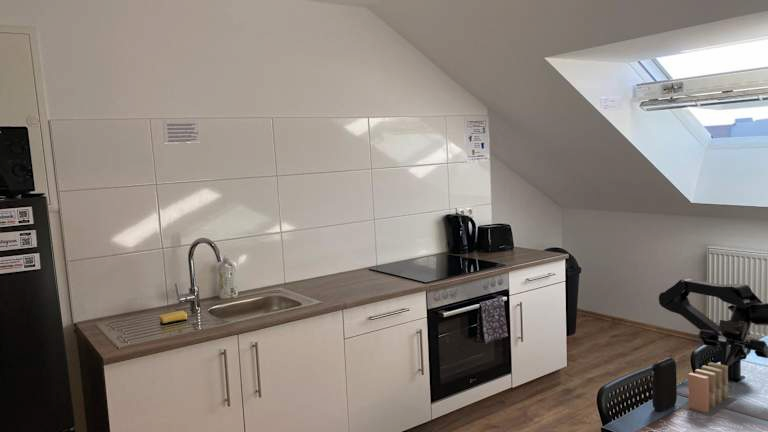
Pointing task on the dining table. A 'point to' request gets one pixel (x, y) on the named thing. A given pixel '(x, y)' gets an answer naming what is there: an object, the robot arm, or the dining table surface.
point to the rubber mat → (711, 410)
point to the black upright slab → (664, 384)
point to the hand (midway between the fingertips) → (724, 367)
